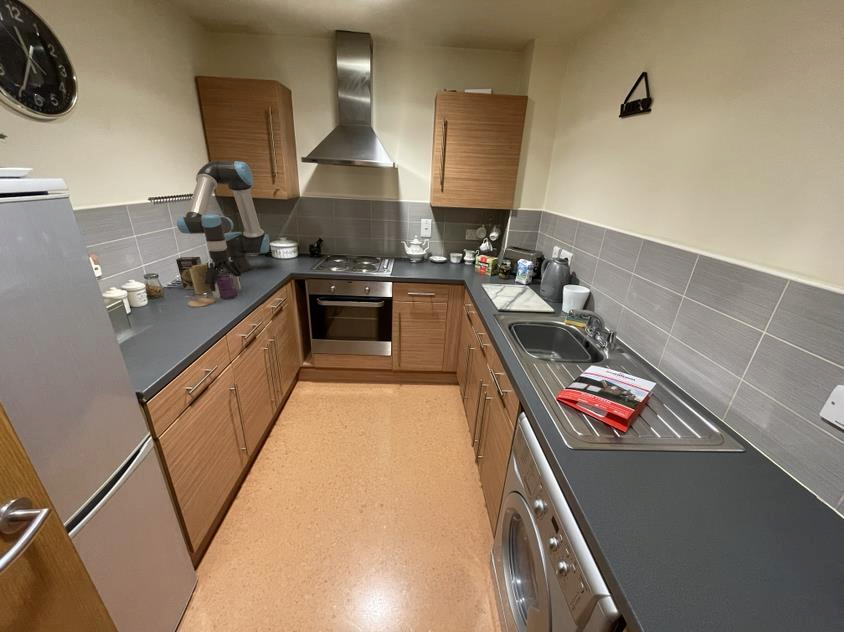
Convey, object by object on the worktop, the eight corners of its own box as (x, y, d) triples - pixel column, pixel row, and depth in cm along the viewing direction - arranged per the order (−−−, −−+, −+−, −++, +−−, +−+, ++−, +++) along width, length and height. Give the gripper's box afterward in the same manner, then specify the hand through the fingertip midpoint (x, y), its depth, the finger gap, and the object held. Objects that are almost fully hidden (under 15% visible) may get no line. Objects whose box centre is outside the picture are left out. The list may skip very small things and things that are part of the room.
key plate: (205, 290, 168) (204, 287, 167) (224, 292, 166) (224, 289, 165) (184, 297, 157) (184, 294, 157) (205, 299, 155) (204, 297, 154)
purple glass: (233, 294, 163) (228, 271, 158) (239, 297, 159) (234, 273, 154) (218, 297, 158) (212, 274, 153) (224, 301, 154) (218, 276, 149)
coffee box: (183, 290, 167) (174, 259, 161) (188, 286, 173) (180, 256, 167) (203, 289, 170) (195, 258, 163) (207, 285, 175) (200, 256, 169)
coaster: (202, 298, 157) (201, 296, 156) (221, 300, 155) (220, 298, 154) (181, 306, 147) (181, 304, 147) (201, 308, 145) (201, 306, 144)
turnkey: (195, 293, 159) (188, 266, 154) (236, 284, 173) (230, 259, 168) (198, 294, 157) (190, 267, 152) (238, 285, 172) (233, 260, 167)
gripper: (231, 244, 161) (239, 284, 169) (187, 254, 139) (200, 300, 147) (244, 245, 160) (252, 286, 168) (202, 255, 137) (213, 301, 146)
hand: (227, 292), depth 158 cm, fingers open, 13 cm apart
